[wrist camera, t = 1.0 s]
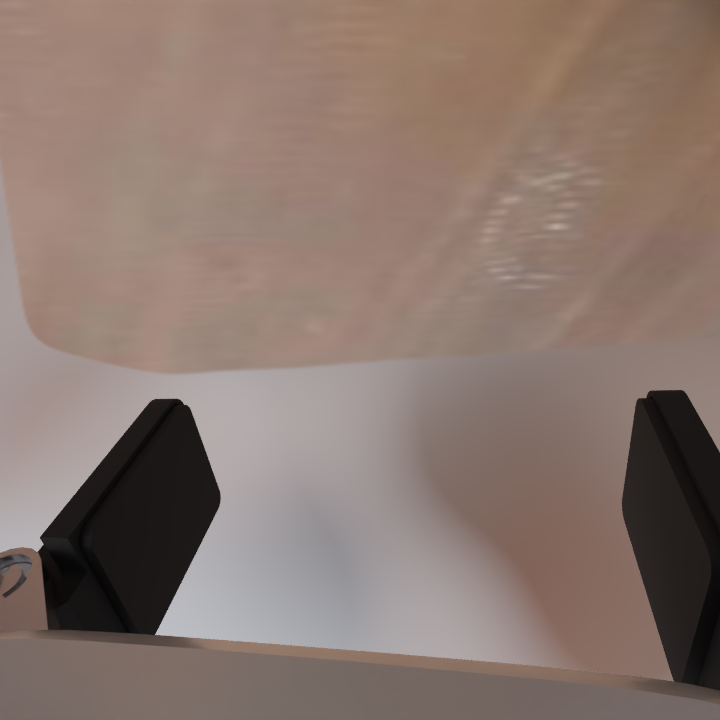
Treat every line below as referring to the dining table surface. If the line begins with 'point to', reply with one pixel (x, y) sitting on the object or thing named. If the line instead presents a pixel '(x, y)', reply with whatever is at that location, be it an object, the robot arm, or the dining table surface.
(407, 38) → the dining table surface
